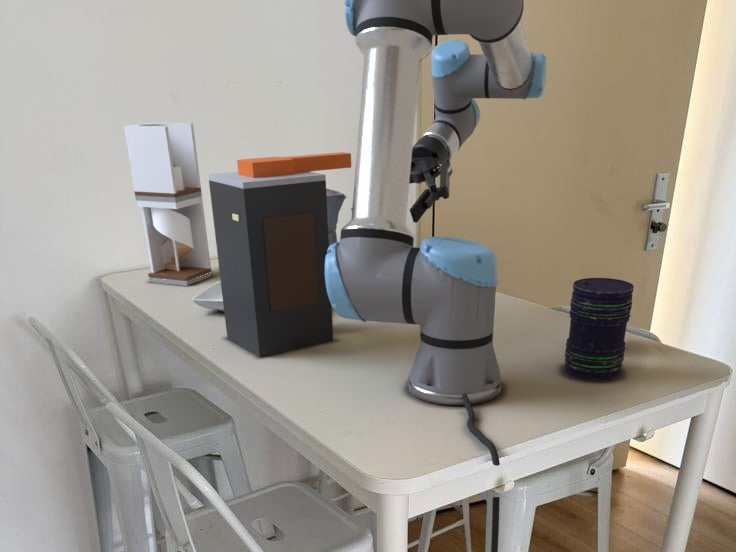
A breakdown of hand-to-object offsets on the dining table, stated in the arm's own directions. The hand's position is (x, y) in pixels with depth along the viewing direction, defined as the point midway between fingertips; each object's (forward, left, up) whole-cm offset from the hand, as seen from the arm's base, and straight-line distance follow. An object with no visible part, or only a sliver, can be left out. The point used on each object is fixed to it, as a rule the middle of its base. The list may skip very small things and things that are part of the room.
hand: (383, 215), depth 147 cm
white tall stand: (+47, +48, -22) cm, 70 cm away
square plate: (+22, +24, -22) cm, 39 cm away
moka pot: (+64, +12, -22) cm, 69 cm away
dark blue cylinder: (-31, -33, -22) cm, 51 cm away
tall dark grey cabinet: (-6, +21, -22) cm, 31 cm away
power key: (-3, +16, +8) cm, 18 cm away
